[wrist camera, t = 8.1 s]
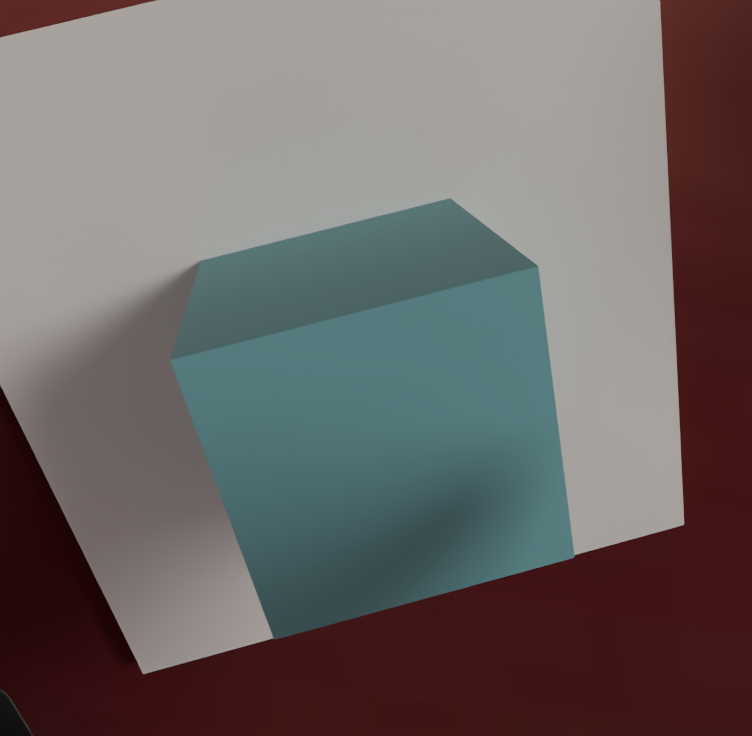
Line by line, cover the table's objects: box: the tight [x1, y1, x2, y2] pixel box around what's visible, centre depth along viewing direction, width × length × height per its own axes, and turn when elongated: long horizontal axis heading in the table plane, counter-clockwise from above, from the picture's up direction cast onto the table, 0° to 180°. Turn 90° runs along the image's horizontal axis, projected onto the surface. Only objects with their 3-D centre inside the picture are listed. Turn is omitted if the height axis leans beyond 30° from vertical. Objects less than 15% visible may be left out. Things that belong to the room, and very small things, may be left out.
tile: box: [0, 0, 684, 674], centre depth 15 cm, size 14×14×1 cm
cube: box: [170, 198, 575, 640], centre depth 13 cm, size 5×5×5 cm
